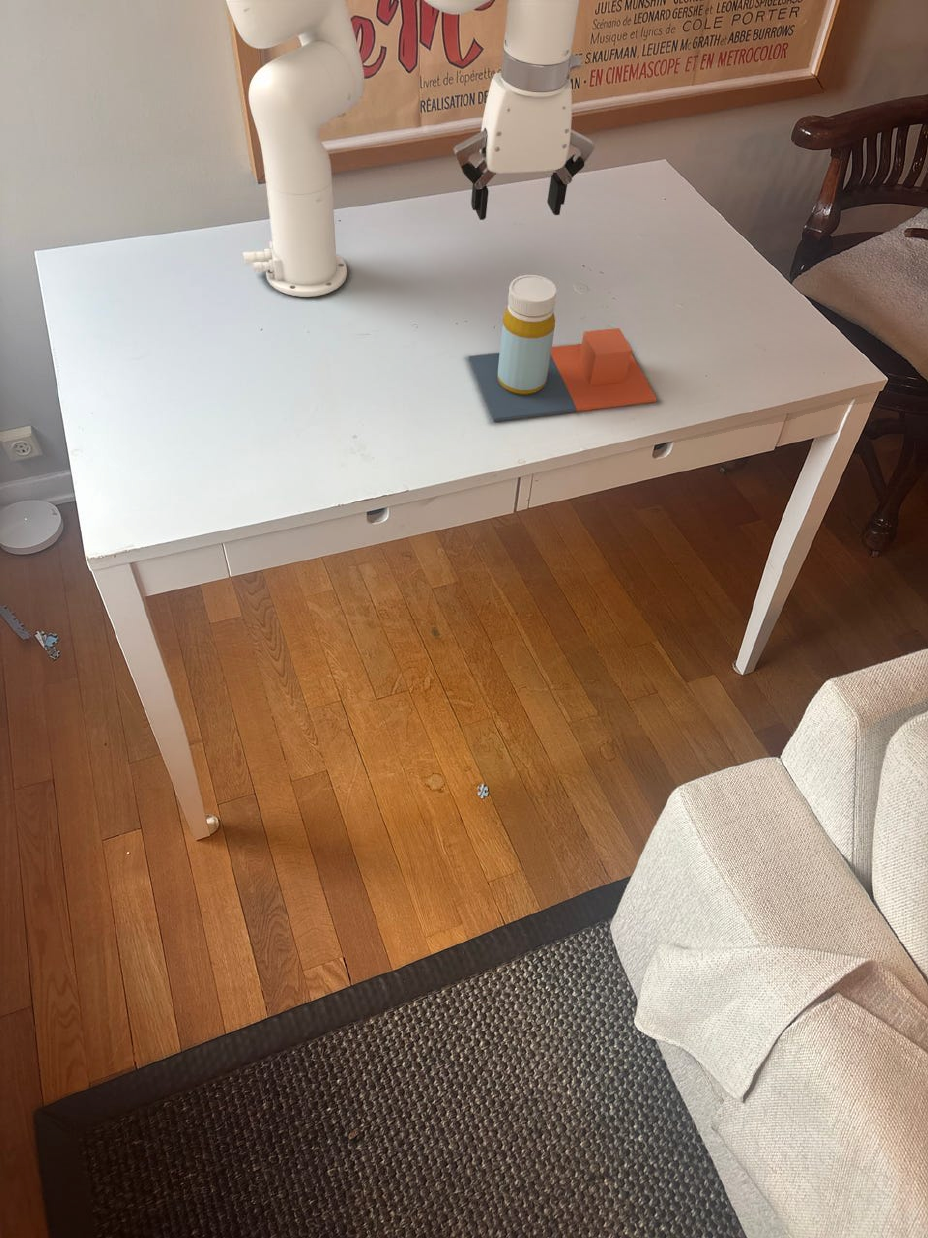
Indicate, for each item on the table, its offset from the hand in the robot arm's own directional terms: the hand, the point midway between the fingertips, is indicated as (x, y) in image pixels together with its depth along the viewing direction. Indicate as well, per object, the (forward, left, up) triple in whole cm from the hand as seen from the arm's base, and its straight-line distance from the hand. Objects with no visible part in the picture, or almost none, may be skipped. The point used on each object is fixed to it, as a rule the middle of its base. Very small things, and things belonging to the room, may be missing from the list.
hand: (516, 211), depth 121 cm
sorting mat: (+8, -5, -24) cm, 25 cm away
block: (+14, -5, -23) cm, 27 cm away
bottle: (+2, -5, -23) cm, 24 cm away
